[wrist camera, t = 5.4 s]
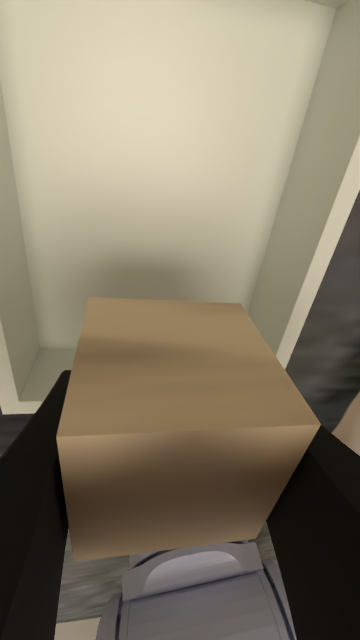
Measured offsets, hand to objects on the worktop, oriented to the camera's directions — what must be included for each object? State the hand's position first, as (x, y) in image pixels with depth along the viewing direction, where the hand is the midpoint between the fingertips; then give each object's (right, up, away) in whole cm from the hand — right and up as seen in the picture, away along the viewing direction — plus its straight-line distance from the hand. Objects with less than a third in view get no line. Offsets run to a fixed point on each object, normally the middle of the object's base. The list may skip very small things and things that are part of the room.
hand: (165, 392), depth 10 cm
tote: (-1, +8, +5) cm, 9 cm away
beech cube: (0, +1, +1) cm, 2 cm away
